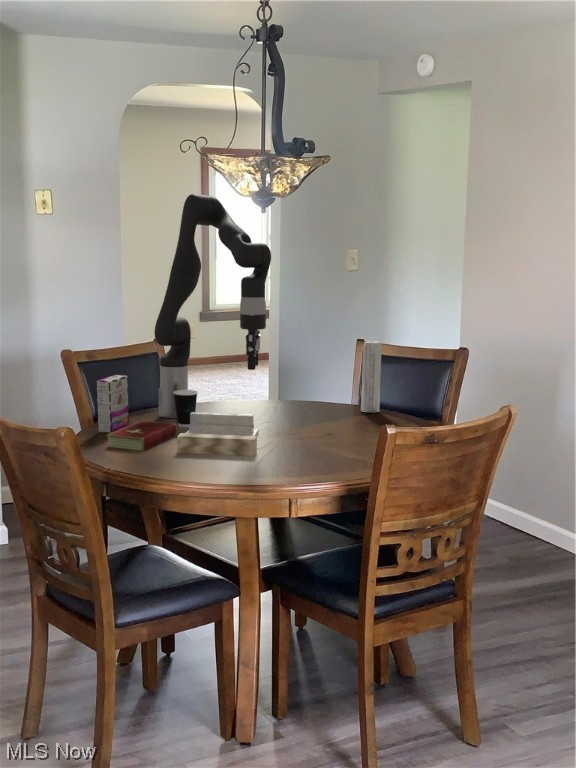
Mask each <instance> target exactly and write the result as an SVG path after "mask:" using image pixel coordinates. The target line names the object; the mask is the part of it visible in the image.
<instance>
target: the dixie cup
mask: <svg viewBox="0 0 576 768" xmlns="http://www.w3.org/2000/svg"><path fill="white" fill-rule="evenodd" d="M173 394H174V398H175V407H176V416H177V418H176V423H177V425H178V427H179V428H189V424H190V413H191V412H196V407H197V398H198V394H199V392H198V391H197V390H193V389H188V390H177V391H174V392H173Z"/></svg>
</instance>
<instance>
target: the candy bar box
mask: <svg viewBox="0 0 576 768" xmlns="http://www.w3.org/2000/svg"><path fill="white" fill-rule="evenodd" d="M128 380H129V379H128V375H123V374H120V375H119V374H114V375H111V376H107V377H105V378H102V379H98V380H96V402H97V403H96V404H97V421H98V422H97V423H98V426H97V427H98V429H97V430H98V432H99V433H101V434H102V433H104V434H110V433H113V432H115V431H118V430H120V429H122V428H125V427H127V426H130V415H129V411H130V410H129V382H128Z"/></svg>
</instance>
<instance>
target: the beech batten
mask: <svg viewBox="0 0 576 768" xmlns="http://www.w3.org/2000/svg"><path fill="white" fill-rule="evenodd" d="M176 437H177V438H176V445H177V447H176V452H177V453H179V454H181V453H182V454H200V455H201V454H202V455H218V456H219V455H221V456H242V457H245V456H246V457H255V456H256V455H257V452H258V450H257V449H258V435H257V436H237V435H215V434H192V433H186V432H180V433H179V434H178V435H176Z"/></svg>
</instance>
